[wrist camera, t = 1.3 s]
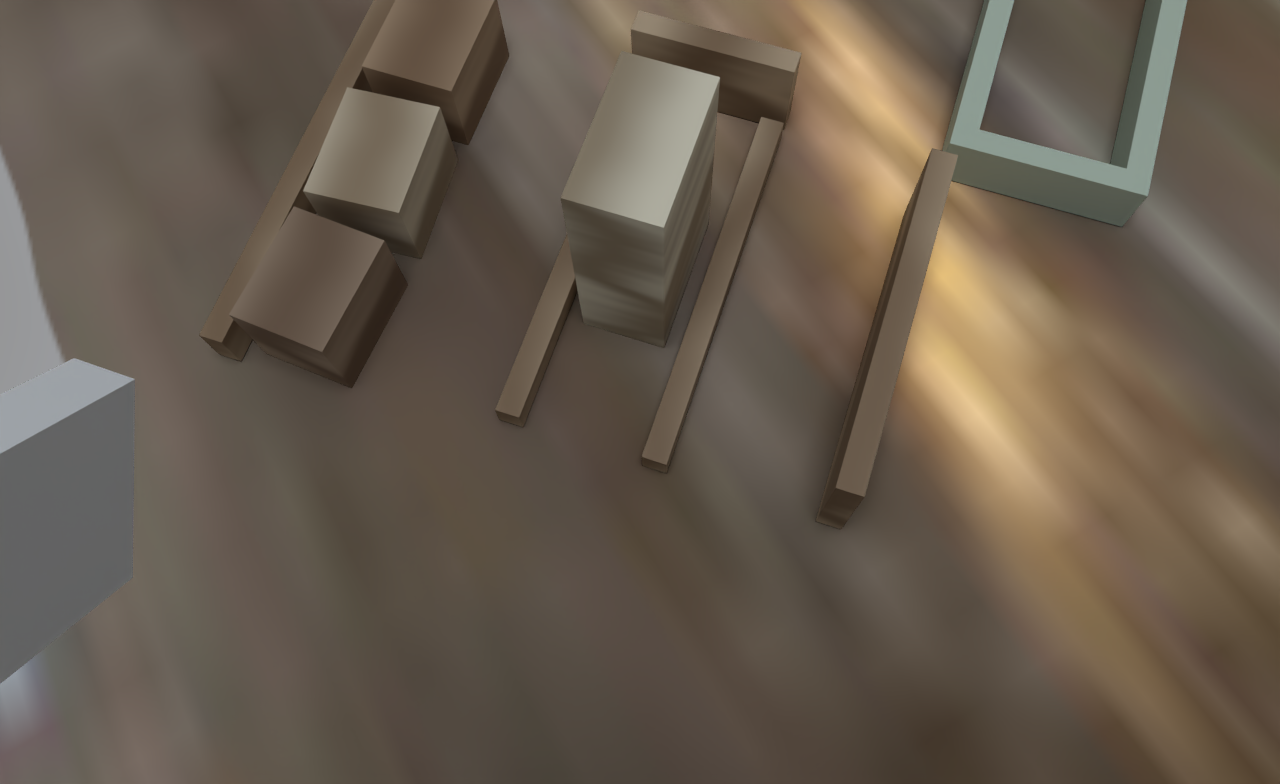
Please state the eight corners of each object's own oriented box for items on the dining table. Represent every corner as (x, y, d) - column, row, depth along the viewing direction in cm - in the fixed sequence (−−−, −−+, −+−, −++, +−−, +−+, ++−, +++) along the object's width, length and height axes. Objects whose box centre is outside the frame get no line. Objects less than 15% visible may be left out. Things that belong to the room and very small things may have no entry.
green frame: (1184, -76, 49) (1210, -119, 47) (1121, 227, 44) (1148, 196, 41) (1016, -116, 50) (1033, -159, 48) (934, 175, 45) (949, 143, 42)
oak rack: (945, 153, 45) (978, 81, 40) (834, 554, 39) (856, 524, 35) (397, 5, 49) (368, -77, 44) (219, 354, 43) (164, 303, 38)
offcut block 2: (458, 161, 46) (439, 107, 42) (421, 260, 44) (399, 212, 40) (373, 142, 46) (347, 87, 42) (333, 239, 45) (303, 190, 41)
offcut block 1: (509, 57, 48) (496, -4, 44) (468, 146, 46) (451, 91, 42) (429, 35, 48) (409, -27, 44) (386, 123, 47) (361, 65, 43)
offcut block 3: (408, 286, 44) (384, 240, 40) (352, 389, 42) (322, 351, 38) (325, 253, 44) (293, 206, 41) (267, 354, 43) (228, 314, 39)
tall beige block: (708, 224, 44) (720, 77, 35) (664, 347, 42) (663, 227, 33) (630, 202, 45) (621, 50, 35) (583, 323, 43) (560, 197, 33)
